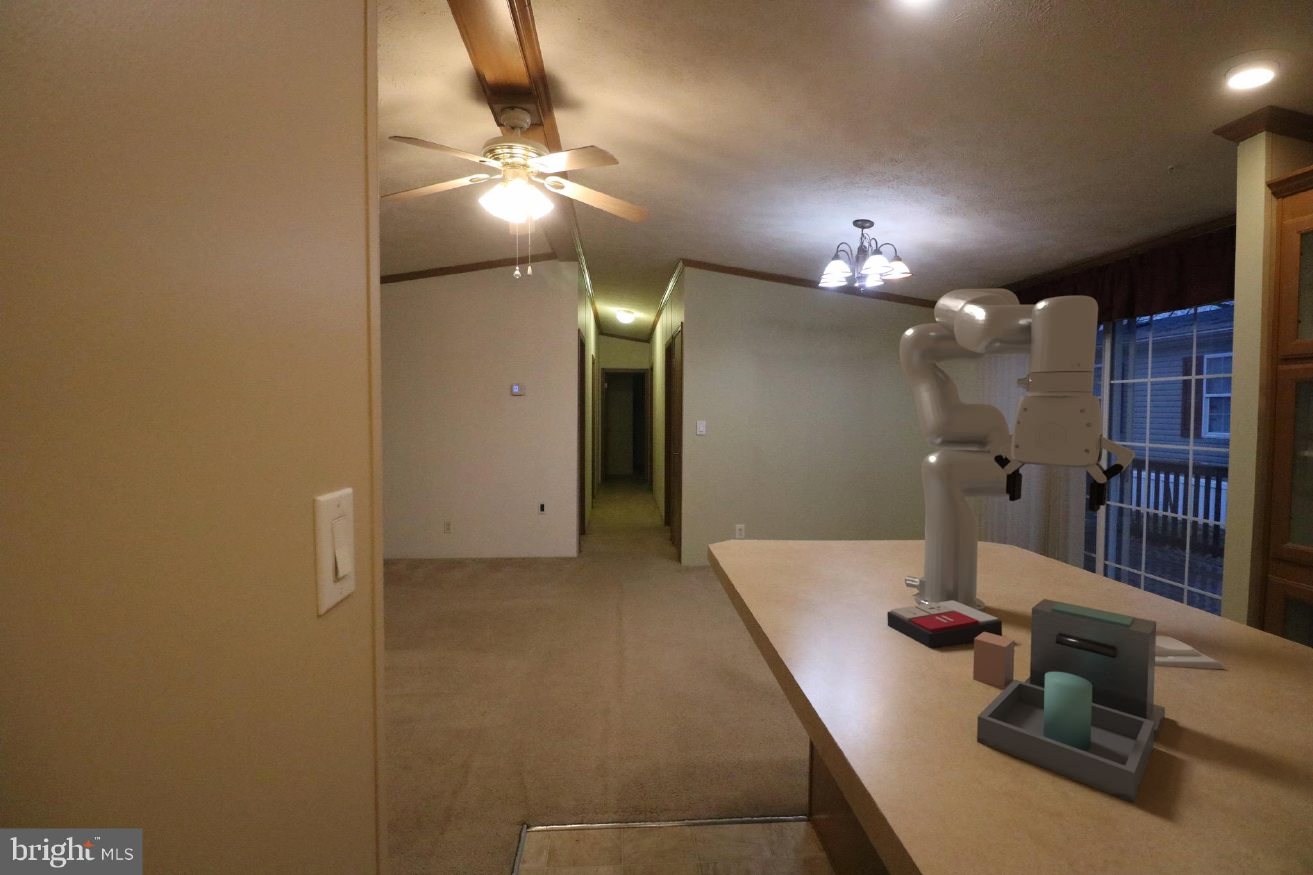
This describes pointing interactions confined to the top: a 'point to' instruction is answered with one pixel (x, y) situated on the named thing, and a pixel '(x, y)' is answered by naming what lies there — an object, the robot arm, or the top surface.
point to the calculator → (943, 623)
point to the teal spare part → (1068, 709)
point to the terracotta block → (993, 659)
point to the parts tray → (1104, 766)
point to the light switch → (1181, 654)
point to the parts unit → (1098, 655)
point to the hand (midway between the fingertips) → (1052, 504)
